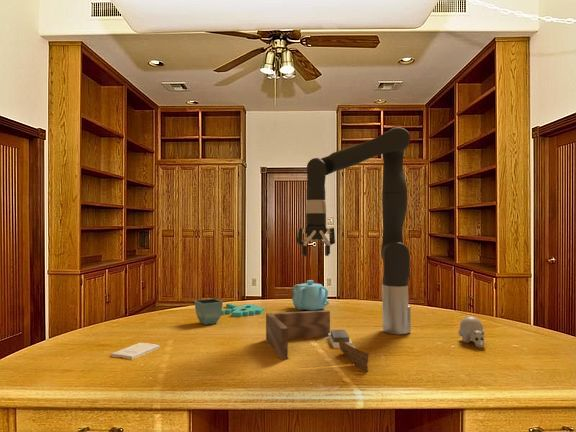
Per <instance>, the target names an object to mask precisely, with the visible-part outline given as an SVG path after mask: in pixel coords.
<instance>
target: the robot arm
mask: <svg viewBox="0 0 576 432" xmlns="http://www.w3.org/2000/svg"><path fill="white" fill-rule="evenodd" d="M410 142H411V134H410V133H409V131H408V130H406V129H405V128H403V127H399V126H398V127H393V128H391V129H389V130H388V131H386V132H384V133H381V135H379V136H377V137H374V138H372V139H370V140H367V141H364V142H361V143H359V144H355V145H352V146H349V147H346V148H343V149H340V150H338V151H335V152H332V153H330V154H329V155H327V156H325V157H322V158H319V157H315V158H311V159H310V160H309V161H308V162H307V165H306V179H307V181H306V182H307V186H306V203H305V228H302V227H299V228H297V229H296V230H297V231H296V232H297V233H296V244H297V245H299V246H300V245H301V254H302V256H303V257H307V256H308V247H307V245H308V243H309V242H311V240H312V241H315V240H318V241H319V240H320V241H322V242H323V243H324V245H325V246H324V256H325V257H329V256H330V254H331V246H332V245H334V244H336V239H335V238H336V237H335V236H336V235H335V228H333V227H330V228H327V204H326V178H327V177H326V176H328V175H330V174H332V173H335V172H338V171H342V170H344V169H348V168H350V167H352V166H355V165H359V164H360V163H363V162H365V161H366V160H369V159H371V158H375V157H377V156H380V155H382V160H383V174H382V189H381V190H382V191H381V207H382V209H381V210H382V213H381V214H382V225H383V227H382V229H383V230H382V231H383V232H382V240H381V241H382V242H381V248H380V257H381V258H382V260H383V276H382V332H383V333H386V334H390V335H406V334H408V333H410V334H411V332H412V331H411V330H412V327H411V326H412V321H411V320H412V315H411V314H412V313H411V312H412V311H411V309H412V307H411V306H410V305H409V281H410V280H409V279H410V275H411V274H410V272H411V255H410V251H409V248H408V247H407V245H406V244H405V243H404V238H403V237H404V234H403V231H404V230H403V229H404V223H405V218H406V215H407V210H408V185H407V180H406V176H405V172H404V165H403V164H404V155H405V150H406V149H407V148H408V147H409V146H410ZM304 233H305V234H306V236H305V237H304V239H303V235H304ZM326 234H328V235H329V240H328V237H327V236H326Z"/></svg>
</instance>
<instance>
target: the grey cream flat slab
mask: <svg viewBox="0 0 576 432" xmlns="http://www.w3.org/2000/svg"><path fill="white" fill-rule="evenodd" d="M324 339H325V340H326V341H327V342H328V343H329V344H330V346H332V344H331V342H330V340H329V338H328V336H324ZM352 347H353V348H356V349H357V347H356V346H355V345H354V344H353V343H352ZM335 349H338V350H341V348H335Z"/></svg>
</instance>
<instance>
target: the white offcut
mask: <svg viewBox="0 0 576 432" xmlns="http://www.w3.org/2000/svg"><path fill="white" fill-rule="evenodd" d="M327 337H328V338H329V340H330V342H331V344H332V345H331V344H330V345H331V347H332V348H333V349H336V348H340V345H339V342H333V339H332V336H331V332H330V333H328V336H327ZM345 343H346V344H347V345H349V346H351V347H352V344H353V342H352V340H351V338H349V342H345Z"/></svg>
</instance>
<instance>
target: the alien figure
mask: <svg viewBox="0 0 576 432" xmlns="http://www.w3.org/2000/svg"><path fill="white" fill-rule="evenodd" d="M225 308H226V309H222V312H221V316H224V315H231V317H234V318H235V317H237V318H238V317H239V318H242V317H248V316H255V315H262V314H263V313H265V307H262V306H260V305H255V304H251V303H245V304H243V305H240V306H239V305H236V304H233V303H228V302H227V303H226V304H225Z"/></svg>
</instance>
